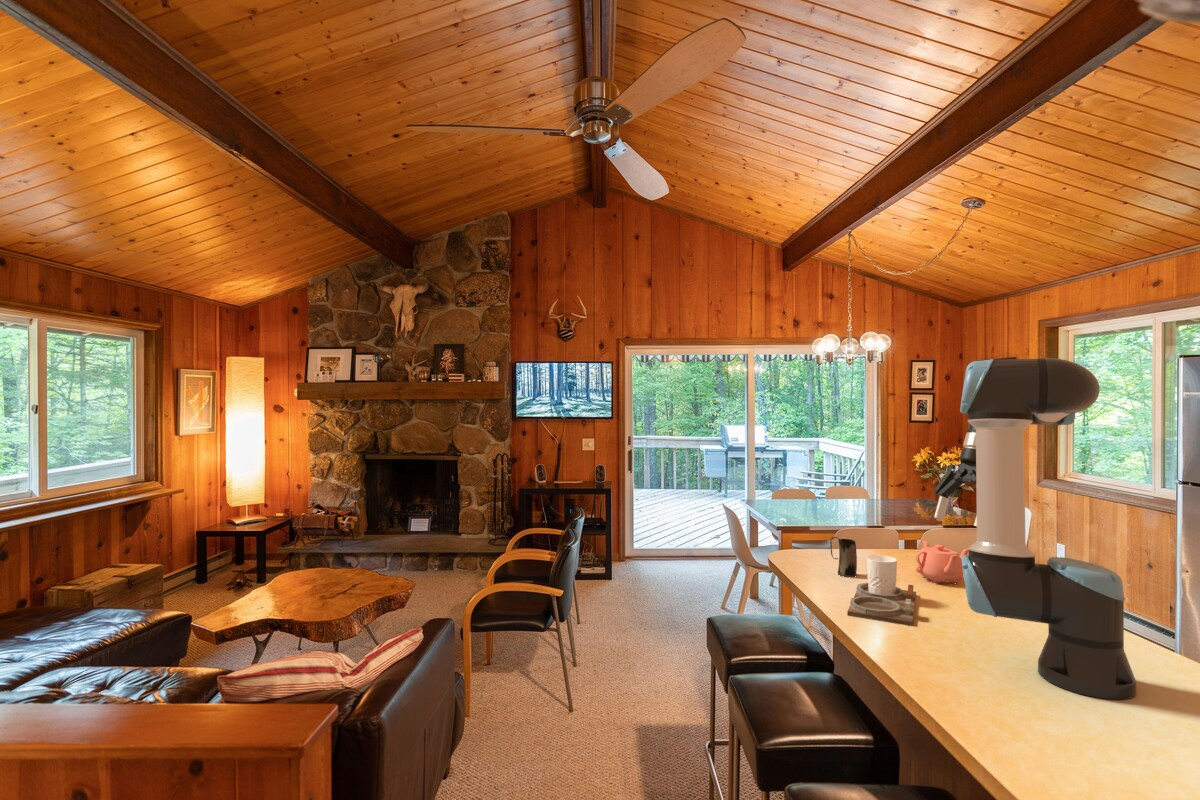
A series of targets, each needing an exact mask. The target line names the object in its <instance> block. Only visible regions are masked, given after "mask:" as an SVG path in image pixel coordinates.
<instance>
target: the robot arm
mask: <svg viewBox="0 0 1200 800" xmlns="http://www.w3.org/2000/svg"><path fill="white" fill-rule="evenodd" d="M1100 388H1101V387H1100V384H1099V381H1098V379H1097V377H1096V376H1095V374H1093V373H1092V371H1090V370H1089V369H1087V368H1086V367H1084V366H1083V365H1080V364H1078V363H1076V362H1073V361H1070V360H1066V359H1062V358H1055V357H1054V358H1053V357H1044V358H1001V359H1000V358H993V359H992V358H991V359H985V360H974V361H972V362H970V363H968V365H967V366H966V369H965V374H964V380H963V386H962V392H961V393H962V395H961V401H960V409H959V412H960V413H961V414H964V415H967V423H968V427H967V431H966V433H965V438H964V441H963V443H962V444H963V445H962V446H963V448H962V449H961V452H960V455H959V461H960V464H959V466H958V465H955V464H953V463H951V464H949V467H948V469H947V472H945V474H944V475H943V477H942V478H941V479H940V481H939V483H938V484H937V485H936V486H935V488H934V489H933V493H935V494H936V495H937V496H938V497H937V501H936V509H935V513H934V518H935V519H938V520H941V521H945V516H946V513H947V509H948V505H949V502H950V497H949V496H951V495H952V494H953V493H954V492H955V491H956V490H957V489H959V487H961V486H962V485H963V484H966V483H967V484H974V485H975V486H976V491H975V492H976V516H975V519H974V523H973V526H975V527H976V541H975V542H974V543H972V544H971V545H970V546H969V547H968V548H969V551H968V554H967V555H965V556H962V557H961V561H962V569H963V580H964V586H965V587H964V589H965V593H966V600H967V604H968V605H967V606H969V608H970V610H972V612H973V613H974V612H975V613H977V614H982V615H987V616H992V617H994V618H997V617H999V618H1005V619H1006V618H1008V619H1012V620H1013V619H1014V620H1019V621H1025V622H1026V621H1027V622H1033V623H1041V624H1047V625H1048V635H1047V638H1046V641H1045V642H1044V644H1043V647H1042V650H1041V652H1040V654H1039V657H1038V660H1037V673H1038V674H1039V676H1041V677H1042V678H1043V679H1044V680H1045V681H1047V682H1049V683H1051V684H1052V685H1054V686H1057V687H1059V688H1061V689H1064V690H1066V691H1067V690H1068V691H1071V692H1074V693H1076V694H1080V695H1085V696H1089V697H1093V698H1099V699H1107V700H1128V699H1131V698H1134V697H1135V696H1136V695H1137V681H1136V680H1137V679H1136V677H1135V675H1134V672H1133V670H1132V667H1131V664H1130V663H1129V659H1128V657H1127V655H1126V652H1125V643H1124V641H1125V637H1124V635H1125V632H1124V630H1125V629H1124V626H1125V625H1124V622H1125V621H1124V619H1125V617H1124V616H1125V615H1124V613H1125V610H1124V606H1125V605H1124V604H1125V603H1124V602H1125V601H1126V598H1125V593H1124V585H1123V580H1122V578H1121V576H1120V575H1119V574H1118V573H1117V572H1115V571H1113V570H1111V569H1109V568H1106V567H1104V566H1101V565H1098V564H1095V563H1092V562H1087V561H1083V560H1080V559H1075V558H1069V557H1063V556H1060V557H1058V556H1051V557H1049V558H1048V560H1047V561H1046V564H1045V563H1044V564H1042V563H1036V555H1035V553H1034V552H1033V551H1032V550H1031V549H1030V548H1029V547H1028V546H1027V543H1026V495H1025V494H1026V490H1025V488H1026V487H1025V437H1024V435H1025V434H1024V433H1025V432H1024V431H1025V430H1026V428H1028V427H1029V426H1030V425H1033V426H1035V425H1036V426H1038V425H1039V426H1041V425H1043V426H1069V425H1072V424H1074V422H1075V419H1076V414H1078V413H1080V412H1083V411H1085V410H1088V409H1089V408H1090V407H1091V406H1093V405H1094V404H1095V403H1096V401H1097V399H1098V398H1099V395H1100Z"/></svg>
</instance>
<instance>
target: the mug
mask: <svg viewBox="0 0 1200 800" xmlns="http://www.w3.org/2000/svg"><path fill="white" fill-rule="evenodd" d="M834 539H838V549H839V551H838V554H839V555H838V556H839V557H838V558H836V557H834V556H833V546H832V543H833V542H832V541H833V540H834ZM829 543H830V544H829V545H830V547H829V548H830V555H831V557H832V558H833V560H838V569H837V575H838V576H839V575H840V577H842V576H844V577H843V578H848V577H853V578H856V577H857V571H858V555H857V544H856V541H855V540H854V539H851V538H850V539H849V538H839V537H837V536H832V537H831V538H830V540H829ZM855 576H856V577H855Z"/></svg>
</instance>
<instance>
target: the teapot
mask: <svg viewBox="0 0 1200 800" xmlns="http://www.w3.org/2000/svg"><path fill="white" fill-rule="evenodd" d="M922 543H923V547H922V548H921V550H920V551H917V552H916V554H915V560H916V563H917V566H916V567H915V571H916V572H917V573H918V574H920V575H921V576H922V578H923V579H925V578H927V579H926V580H930V581H931V582H932V583H931V584H934V583H937V584H936V585H939V584H938V583H940V582H942V583H943V582H944V583H945V582H946V583H947V582H948V583H949V584H951V583H958V582H962V580H963V579H964V575H963V568H962V561H961V557H962V556H965V555H968V554H969V547H968V548H964V549H962V551H961V553H960V556H959V554H958V552H956V551H954V550H952V549H949V548H948V547H945V545H943V544H935V545H934V546H930V544H929V542H927V540H925V539H923V540H922ZM940 584H941V583H940Z"/></svg>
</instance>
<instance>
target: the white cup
mask: <svg viewBox="0 0 1200 800" xmlns="http://www.w3.org/2000/svg"><path fill="white" fill-rule="evenodd" d="M865 560H866V576H867V583H868V589H869V592H870V593H875V594H882V595H894V594H895V587H897V586H896V585H897V583H896V582H897V568H898V566H897V565H898V559H897V558H895V557H892V556H889V555H888V556H887V555H882V554H881V555H880V554H879V555H878V554H872V555H871V554H870V555H866V557H865Z"/></svg>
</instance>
